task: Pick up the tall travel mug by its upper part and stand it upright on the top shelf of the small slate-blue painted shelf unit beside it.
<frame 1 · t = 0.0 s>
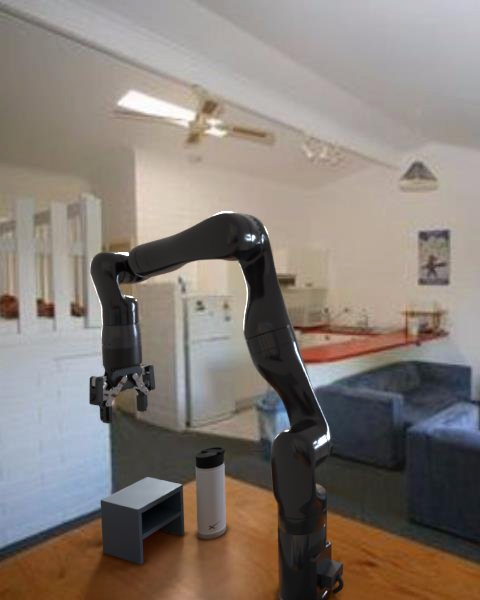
hand: (125, 416, 105), 29 cm above the table, tool pointing down, fingers open, 8 cm apart
shelf: (145, 543, 108), on the table
travel mug: (212, 532, 112), on the table
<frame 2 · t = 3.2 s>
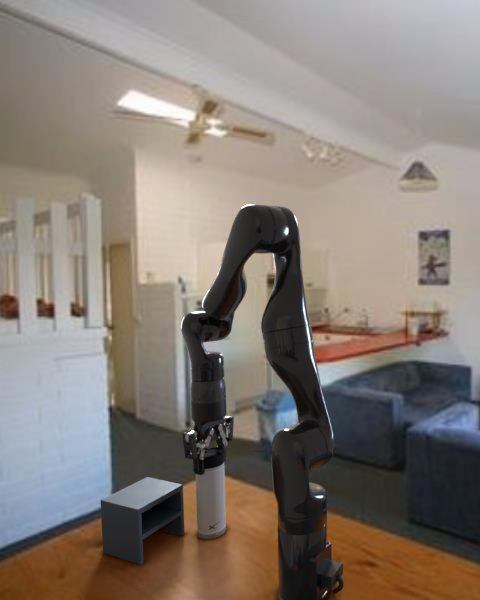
hand: (210, 467, 111), 16 cm above the table, tool pointing down, fingers closed on travel mug, 6 cm apart
travel mug: (212, 532, 112), on the table, touching gripper
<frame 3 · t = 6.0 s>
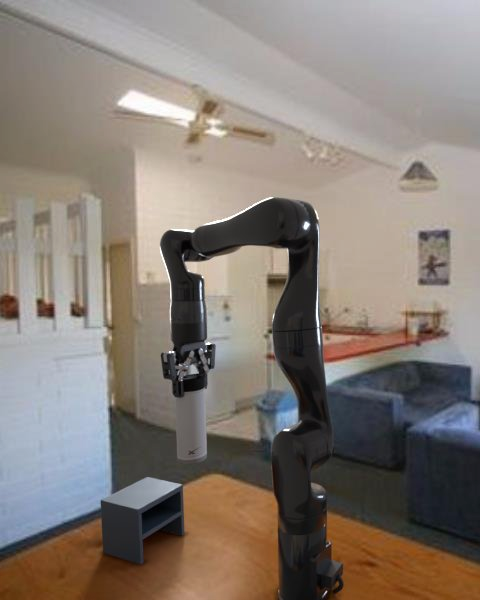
hand: (190, 392, 108), 34 cm above the table, tool pointing down, fingers closed on travel mug, 6 cm apart
travel mug: (193, 460, 110), point 18 cm above the table, touching gripper
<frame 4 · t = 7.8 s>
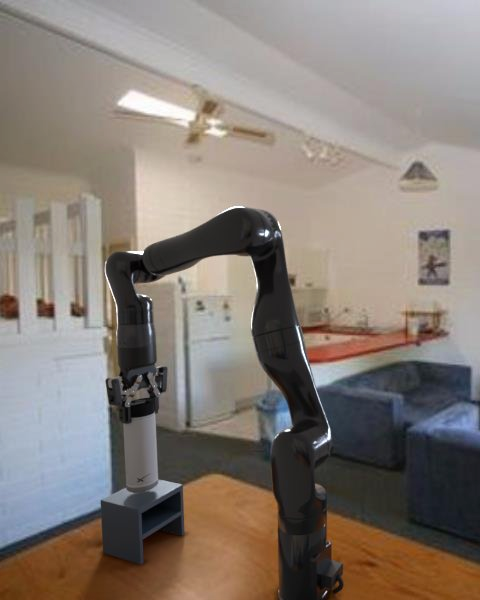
hand: (140, 417, 105), 29 cm above the table, tool pointing down, fingers closed on travel mug, 6 cm apart
travel mug: (143, 487, 107), point 13 cm above the table, touching gripper
when the fingers open (28 cm above the table, at t = 8.8 s): travel mug stays where it is, resting on shelf.
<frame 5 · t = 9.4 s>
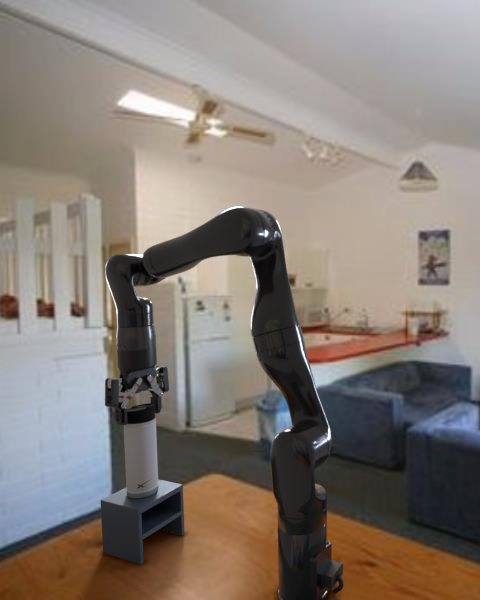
hand: (139, 418, 105), 29 cm above the table, tool pointing down, fingers open, 8 cm apart
travel mug: (143, 493, 107), point 12 cm above the table, touching shelf
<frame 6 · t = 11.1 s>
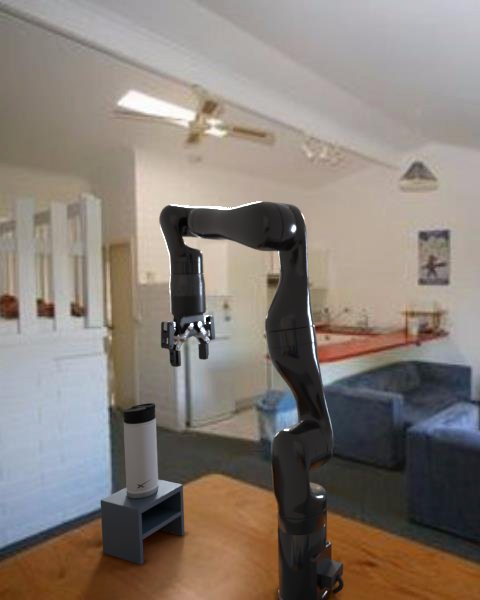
hand: (190, 362, 112), 40 cm above the table, tool pointing down, fingers open, 8 cm apart
nothing on the table moved.
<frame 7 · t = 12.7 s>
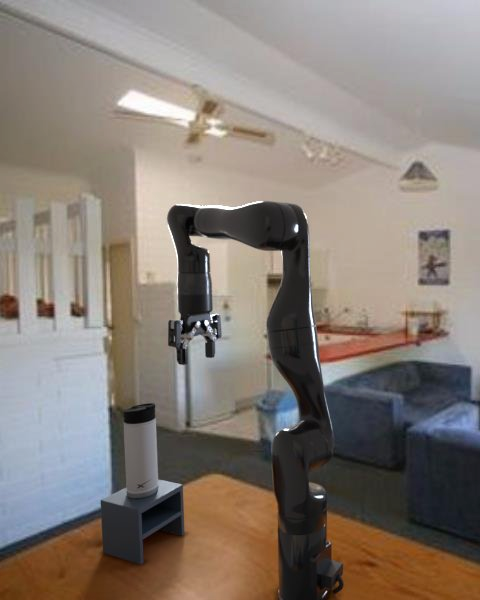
hand: (197, 360, 113), 40 cm above the table, tool pointing down, fingers open, 8 cm apart
nothing on the table moved.
at the end: travel mug inside the target area on the shelf (0.2 cm from its centre), point 11.8 cm above the shelf's base; travel mug tilted 0°; the gripper is holding nothing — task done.
